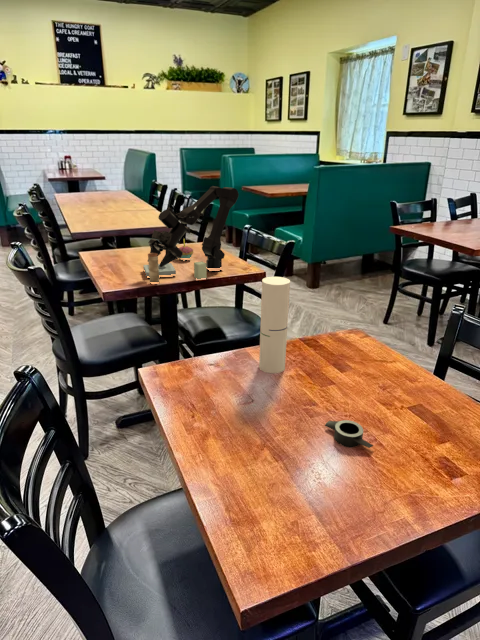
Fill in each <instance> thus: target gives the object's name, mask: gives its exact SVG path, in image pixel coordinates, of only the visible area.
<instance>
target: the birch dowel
mask: <svg viewBox="0 0 480 640" xmlns="http://www.w3.org/2000/svg"><path fill="white" fill-rule="evenodd" d="M147 262H148V265H149V277H150V279H149V283H150V282H159V283H160V278H159V268H158V264H159V256H158V254H157V253H150V252H149V253H147Z"/></svg>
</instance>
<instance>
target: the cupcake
mask: <svg viewBox="0 0 480 640" xmlns="http://www.w3.org/2000/svg"><path fill="white" fill-rule="evenodd" d="M182 240H183V246H179V247H178V248H179V249H180V250H181V251H182V252H183V256H182V257H181V258H190V257H191V258H192V256H193V254H194V249H193V248H192V247H190V246H188V245H186V243H185V242H186V239H185V238H183V239H182Z"/></svg>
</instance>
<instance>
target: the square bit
mask: <svg viewBox="0 0 480 640" xmlns="http://www.w3.org/2000/svg"><path fill="white" fill-rule="evenodd" d="M207 271H208V270H207V269H206V262H204V261H195V262H193V276H194V277H195V278H197V279H201V278H207Z"/></svg>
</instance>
